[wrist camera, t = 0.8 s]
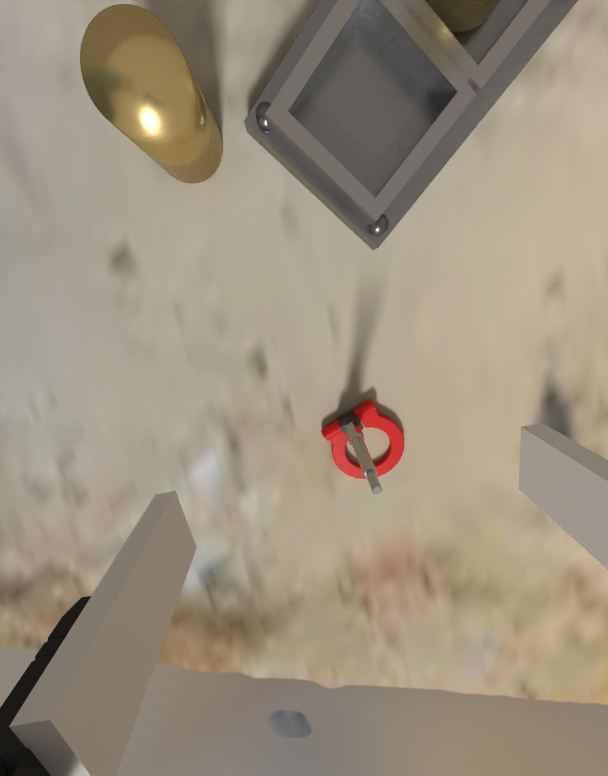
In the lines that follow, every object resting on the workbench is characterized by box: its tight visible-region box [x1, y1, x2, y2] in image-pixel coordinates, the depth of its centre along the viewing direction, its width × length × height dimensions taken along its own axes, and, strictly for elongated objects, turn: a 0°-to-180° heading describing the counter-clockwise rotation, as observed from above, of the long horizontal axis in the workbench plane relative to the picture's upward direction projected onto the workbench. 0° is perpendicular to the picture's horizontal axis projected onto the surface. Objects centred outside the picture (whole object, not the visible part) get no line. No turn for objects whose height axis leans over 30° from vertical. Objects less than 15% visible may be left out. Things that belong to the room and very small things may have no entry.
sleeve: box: [80, 4, 223, 183], centre depth 23 cm, size 6×6×10 cm
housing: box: [244, 0, 578, 250], centre depth 21 cm, size 15×24×12 cm, turn 141°
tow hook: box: [321, 400, 404, 494], centre depth 32 cm, size 8×13×9 cm
